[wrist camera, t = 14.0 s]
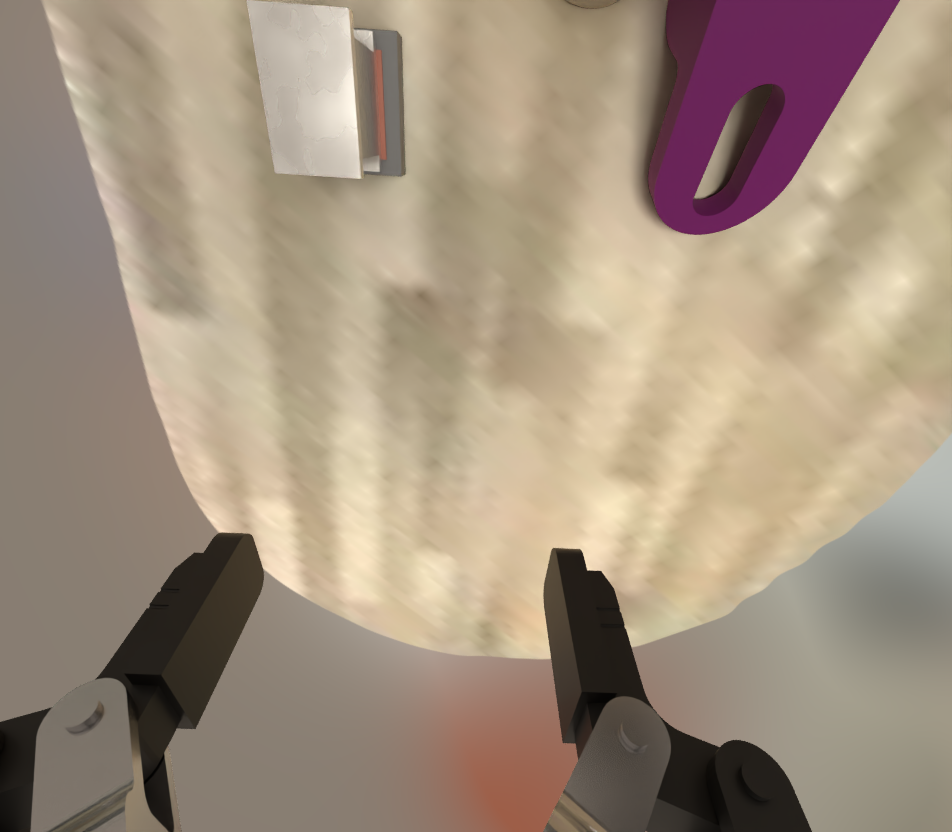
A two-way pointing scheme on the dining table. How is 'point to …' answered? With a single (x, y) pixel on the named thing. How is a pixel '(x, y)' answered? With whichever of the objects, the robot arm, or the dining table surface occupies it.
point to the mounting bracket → (733, 75)
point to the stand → (390, 102)
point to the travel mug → (592, 3)
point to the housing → (317, 89)
